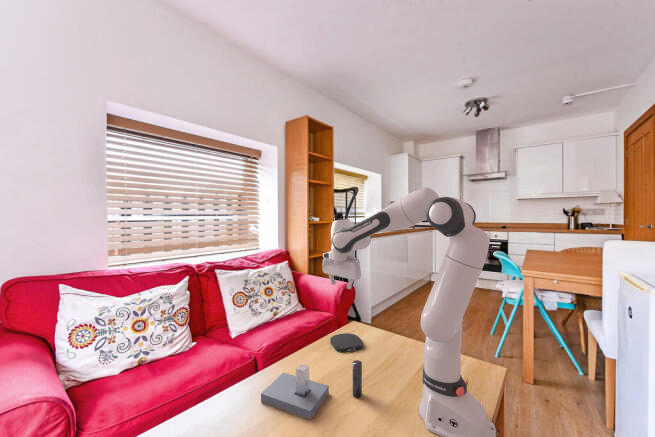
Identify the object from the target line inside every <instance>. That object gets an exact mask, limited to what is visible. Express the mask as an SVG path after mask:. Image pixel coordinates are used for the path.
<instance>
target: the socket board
mask: <svg viewBox="0 0 655 437" xmlns="http://www.w3.org/2000/svg"><path fill="white" fill-rule="evenodd" d="M329 386H330V385H327V384H324V383H320V382H316V381H314V380H310V379H309V394H308V395H307V396H306V398H304V397H301V396H298V395H296V375H294V374H290V373H286V372H282V373H281V374H280V375H279V376H278V377H277V378H276V379H275V380H274V381H273V382H271V383H270V384H269V386H267V387H266V388H265V389H264V390H263V391H262V392H260V402H261V403H263V404H266V405H269V406H271V407H273V408H276V407H277V409H279V410H281V411H285V412H286V413H287V412H288V413H290V414H293V415H295V416H299V417H302V418H303V419H307V420H310V421H311V420H312V418H313V417H314V416H315V414H316V413H317V411H318V410H319V409H320V407H321V406H322V404H323V403H324V401H326V399H327V397H328V396H329V394H330V387H329Z"/></svg>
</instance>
